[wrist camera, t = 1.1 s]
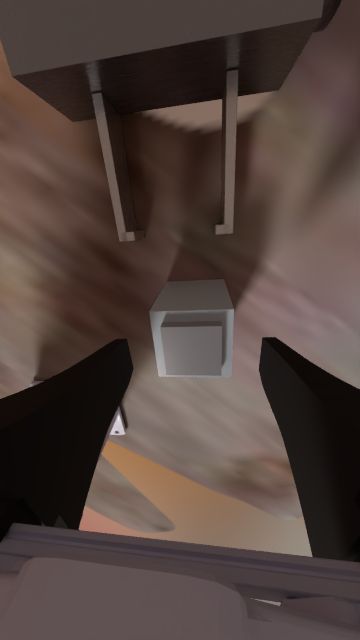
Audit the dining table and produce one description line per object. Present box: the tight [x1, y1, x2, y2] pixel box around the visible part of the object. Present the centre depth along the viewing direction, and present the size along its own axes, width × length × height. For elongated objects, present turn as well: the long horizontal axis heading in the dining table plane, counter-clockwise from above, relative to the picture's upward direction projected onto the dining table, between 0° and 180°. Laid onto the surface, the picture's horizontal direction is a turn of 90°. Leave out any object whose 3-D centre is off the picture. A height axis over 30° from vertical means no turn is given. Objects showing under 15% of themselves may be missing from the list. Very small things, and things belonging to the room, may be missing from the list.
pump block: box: [149, 279, 234, 377], centre depth 14 cm, size 4×4×7 cm
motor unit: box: [0, 0, 341, 242], centre depth 10 cm, size 16×13×4 cm
